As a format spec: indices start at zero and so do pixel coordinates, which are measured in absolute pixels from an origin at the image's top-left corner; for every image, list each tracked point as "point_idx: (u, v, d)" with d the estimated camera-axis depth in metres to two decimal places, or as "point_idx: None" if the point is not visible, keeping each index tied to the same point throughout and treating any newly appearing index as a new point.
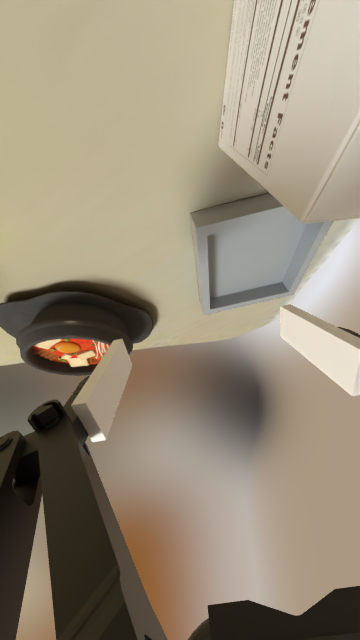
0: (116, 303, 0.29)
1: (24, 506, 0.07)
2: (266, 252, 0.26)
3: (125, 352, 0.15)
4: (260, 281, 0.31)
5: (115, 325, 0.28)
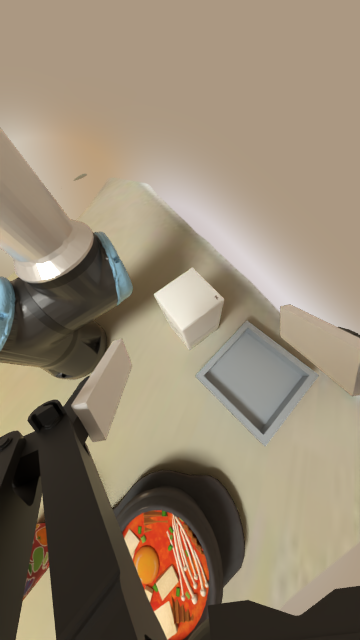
0: (182, 475, 0.31)
1: (24, 506, 0.07)
2: (256, 366, 0.37)
3: (125, 352, 0.15)
4: (282, 386, 0.35)
5: None
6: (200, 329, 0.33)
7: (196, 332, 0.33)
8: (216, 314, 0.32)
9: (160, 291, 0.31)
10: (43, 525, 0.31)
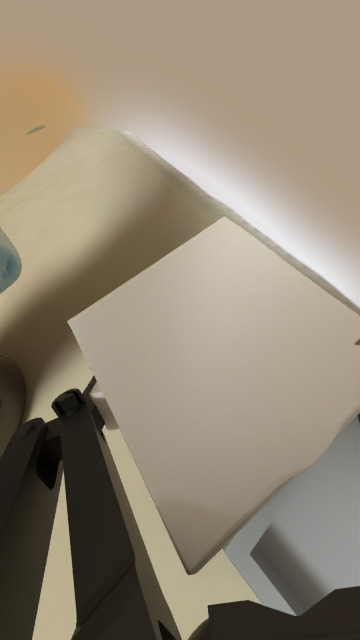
0: None
1: (46, 489, 0.07)
2: None
3: None
4: None
5: None
6: None
7: None
8: None
9: (95, 310, 0.07)
10: None
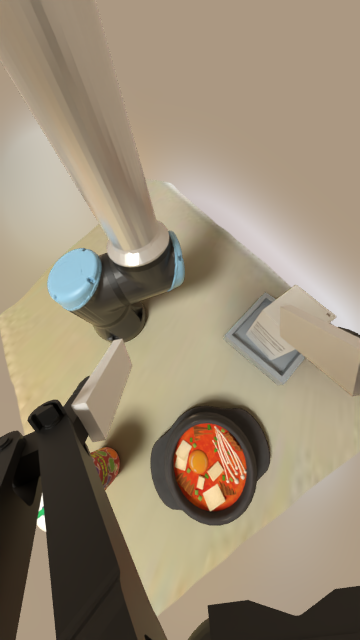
0: (218, 408, 0.40)
1: (24, 506, 0.07)
2: None
3: (125, 352, 0.15)
4: None
5: None
6: None
7: None
8: None
9: (269, 308, 0.33)
10: (108, 448, 0.40)
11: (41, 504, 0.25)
